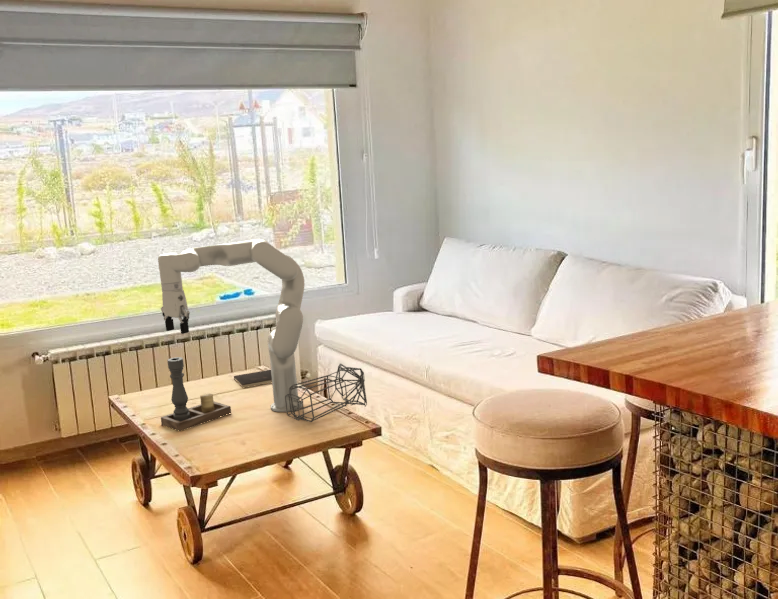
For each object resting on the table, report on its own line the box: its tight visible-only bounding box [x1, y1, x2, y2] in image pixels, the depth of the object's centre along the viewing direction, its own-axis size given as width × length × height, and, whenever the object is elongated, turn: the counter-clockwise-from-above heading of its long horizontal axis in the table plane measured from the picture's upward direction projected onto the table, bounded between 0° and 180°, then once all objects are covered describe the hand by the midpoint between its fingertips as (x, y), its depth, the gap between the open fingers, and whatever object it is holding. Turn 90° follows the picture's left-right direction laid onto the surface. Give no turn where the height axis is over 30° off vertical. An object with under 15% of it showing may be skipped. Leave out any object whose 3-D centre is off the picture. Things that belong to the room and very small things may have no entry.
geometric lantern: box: [285, 363, 368, 423], centre depth 330 cm, size 16×16×35 cm
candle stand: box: [160, 393, 232, 432], centre depth 332 cm, size 12×23×8 cm, turn 136°
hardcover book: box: [233, 369, 272, 388], centre depth 381 cm, size 16×23×2 cm
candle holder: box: [167, 356, 190, 421], centre depth 327 cm, size 6×6×25 cm
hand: (177, 331), depth 324 cm, fingers open, 9 cm apart
